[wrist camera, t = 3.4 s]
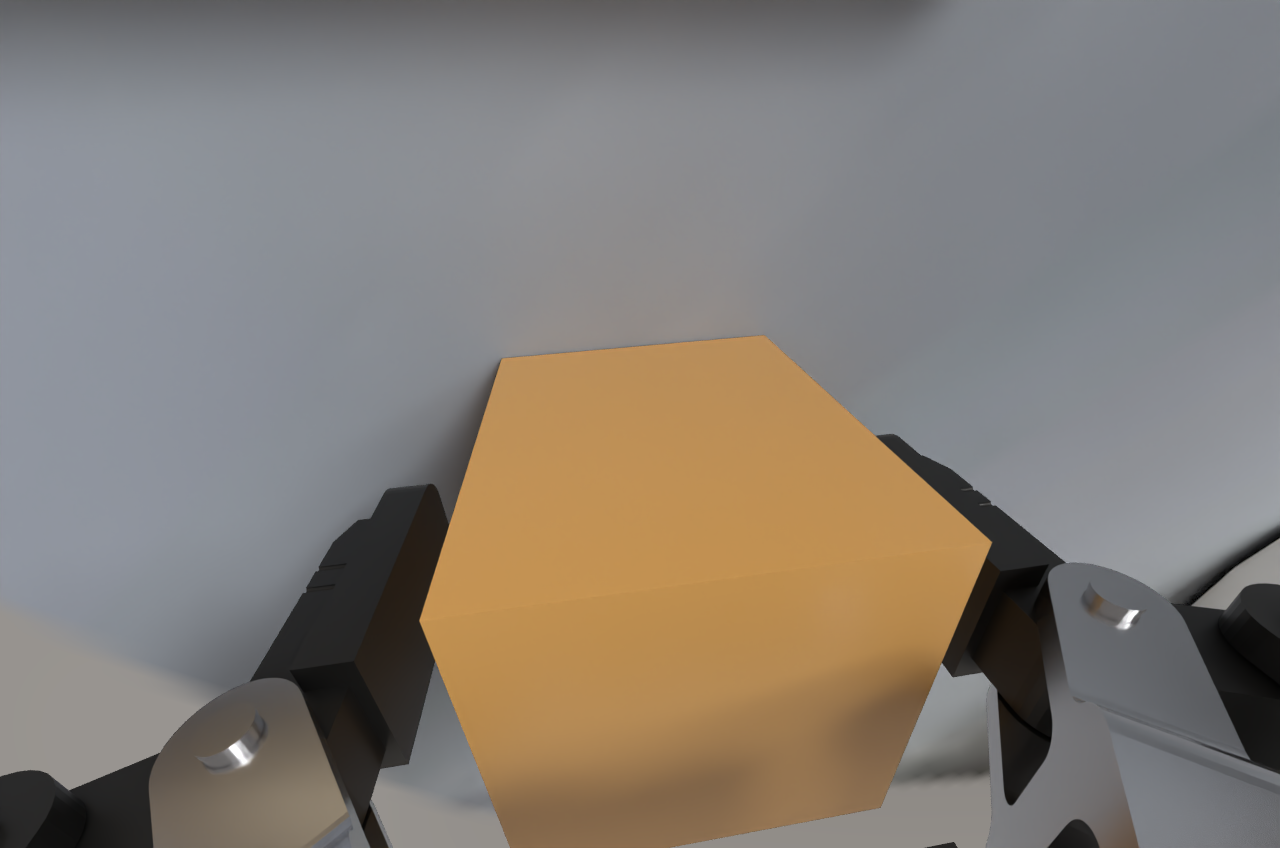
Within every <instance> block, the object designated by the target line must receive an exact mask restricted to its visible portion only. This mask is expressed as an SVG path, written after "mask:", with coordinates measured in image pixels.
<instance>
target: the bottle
mask: <svg viewBox="0 0 1280 848" xmlns="http://www.w3.org/2000/svg"><path fill="white" fill-rule="evenodd" d="M1259 583H1268V584H1278V585H1280V538H1278V539H1277V540H1275V541H1274V542H1272V543H1271V544H1269V545H1268V546H1266V547H1264V548H1263V549H1261V550H1260V551H1258V552H1257V553H1255V554H1254V555H1252V556H1251V557H1249V558H1248V559H1246V560H1244V561H1243V562H1241V563H1240V564H1238V565H1237V566H1235V567H1234V568H1232V569H1231V570H1230V571H1229V572H1228V573H1227V574H1226V575H1225V576H1223V577H1222V578H1221V579H1220V580H1219V581H1218V582H1217V583H1216V584H1214V585H1213V586H1212V587H1211V588H1210V589H1209V590H1208V591H1207V592H1205V593H1204V594H1203V595H1202V596H1201V597H1200V598H1199V599H1198V600H1196V601H1195V602H1194V603H1193V604H1192V605H1191V606H1196V607H1205V608H1213V609H1221V610H1226V609H1227V608H1228V607H1229V605H1230V604H1231V603H1232V602H1233V600H1234V599H1235V598H1236V597H1237V595H1238V594H1239V593H1240V592H1241V591H1242V589H1243V588H1244V587H1246V586H1248V585H1252V584H1259Z"/></svg>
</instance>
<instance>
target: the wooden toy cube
mask: <svg viewBox="0 0 1280 848" xmlns="http://www.w3.org/2000/svg"><path fill="white" fill-rule="evenodd" d="M991 544H992V542H991V541H990V540H989V539H988V538H987V537H986V536H985V535H984V534H982V533H981V532H980V531H979V530H978V529H977V528H976V527H975V526H974V525H973V524H971V523H970V522H969V521H968V520H967V519H966V518H965V517H964V516H963V515H962V514H960V513H959V512H958V511H957V510H956V509H955V508H954V507H953V506H952V505H951V504H950V503H948V502H947V501H946V500H945V499H944V498H943V497H942V496H941V495H940V494H939V493H937V492H936V491H935V490H934V489H933V488H932V487H931V486H930V485H929V484H928V483H926V482H925V481H924V480H923V479H922V478H921V477H920V476H919V475H918V474H917V473H915V472H914V471H913V470H912V469H911V468H910V467H909V466H908V465H907V464H906V463H904V462H903V461H902V460H901V459H900V458H899V457H898V456H897V455H896V454H895V453H893V452H892V451H891V450H890V449H889V448H888V447H887V446H886V445H885V444H884V443H882V442H881V441H880V440H879V439H878V438H877V437H876V436H875V435H874V434H873V433H871V432H870V431H869V430H868V429H867V428H866V427H865V426H864V425H863V424H862V423H860V422H859V421H858V420H857V419H856V418H855V417H854V416H853V415H852V414H851V413H849V412H848V411H847V410H846V409H845V408H844V407H843V406H842V405H841V404H840V403H838V402H837V401H836V400H835V399H834V398H833V397H832V396H831V395H830V394H829V393H827V392H826V391H825V390H824V389H823V388H822V387H821V386H820V385H819V384H818V383H816V382H815V381H814V380H813V379H812V378H811V377H810V376H809V375H808V374H807V373H805V372H804V371H803V370H802V369H801V368H800V367H799V366H798V365H797V364H796V363H794V362H793V361H792V360H791V359H790V358H789V357H788V356H787V355H786V354H785V353H784V352H782V351H781V350H780V349H779V348H778V347H777V346H776V345H775V344H774V343H773V342H771V341H770V340H769V339H768V338H767V337H766V336H765V335H761V336H750V337H739V338H727V339H716V340H705V341H693V342H682V343H671V344H660V345H648V346H637V347H626V348H614V349H603V350H592V351H580V352H569V353H558V354H547V355H535V356H524V357H513V358H502V359H501V362H500V366H499V369H498V372H497V375H496V378H495V381H494V385H493V388H492V391H491V394H490V397H489V401H488V404H487V407H486V410H485V413H484V417H483V420H482V423H481V426H480V429H479V432H478V436H477V439H476V442H475V445H474V448H473V452H472V455H471V458H470V461H469V464H468V467H467V471H466V474H465V477H464V480H463V483H462V487H461V490H460V493H459V496H458V499H457V502H456V506H455V509H454V512H453V515H452V518H451V522H450V525H449V528H448V531H447V534H446V538H445V541H444V544H443V547H442V550H441V553H440V557H439V560H438V563H437V566H436V569H435V573H434V576H433V579H432V582H431V585H430V588H429V592H428V595H427V598H426V601H425V604H424V608H423V611H422V614H421V617H420V620H419V621H420V624H421V626H422V629H423V631H424V634H425V636H426V639H427V641H428V644H429V646H430V649H431V651H432V654H433V656H434V659H435V661H436V664H437V666H438V669H439V671H440V674H441V676H442V679H443V681H444V684H445V686H446V689H447V691H448V694H449V696H450V699H451V701H452V704H453V706H454V709H455V711H456V714H457V716H458V719H459V721H460V724H461V726H462V729H463V731H464V734H465V736H466V739H467V741H468V744H469V746H470V749H471V751H472V754H473V756H474V759H475V761H476V763H477V766H478V768H479V771H480V773H481V776H482V778H483V781H484V783H485V786H486V788H487V791H488V793H489V796H490V798H491V801H492V803H493V806H494V808H495V811H496V813H497V816H498V818H499V821H500V823H501V826H502V828H503V831H504V833H505V836H506V838H507V841H508V843H509V846H510V848H670V847H675V846H680V845H686V844H691V843H696V842H702V841H707V840H712V839H717V838H723V837H728V836H734V835H738V834H744V833H749V832H755V831H760V830H765V829H771V828H776V827H781V826H786V825H791V824H797V823H802V822H807V821H813V820H818V819H824V818H829V817H834V816H839V815H845V814H850V813H855V812H860V811H866V810H871V809H876V808H880V807H881V805H882V803H883V800H884V798H885V796H886V793H887V791H888V789H889V786H890V784H891V782H892V779H893V777H894V774H895V772H896V770H897V767H898V765H899V763H900V760H901V758H902V755H903V753H904V751H905V748H906V746H907V744H908V741H909V739H910V736H911V734H912V732H913V729H914V727H915V725H916V722H917V720H918V717H919V715H920V713H921V710H922V708H923V706H924V703H925V701H926V698H927V696H928V694H929V691H930V689H931V687H932V684H933V682H934V679H935V677H936V675H937V672H938V670H939V668H940V665H941V663H942V661H943V658H944V656H945V653H946V651H947V649H948V646H949V644H950V642H951V639H952V637H953V634H954V632H955V630H956V627H957V625H958V623H959V620H960V618H961V615H962V613H963V611H964V608H965V606H966V604H967V601H968V599H969V596H970V594H971V592H972V589H973V587H974V585H975V582H976V580H977V577H978V575H979V573H980V570H981V568H982V566H983V563H984V561H985V558H986V556H987V554H988V551H989V549H990V547H991Z"/></svg>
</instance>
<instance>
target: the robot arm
mask: <svg viewBox="0 0 1280 848" xmlns="http://www.w3.org/2000/svg"><path fill="white" fill-rule="evenodd" d="M876 437H877V438H878V439H879V440H880V441H881V442H882V443H884V444H885V445H886V446H887V447H888V448H889V449H890V450H891V451H892V452H893V453H895V454H896V455H897V456H898V457H899V458H900V459H901V460H902V461H903V462H904V463H906V464H907V465H908V466H909V467H910V468H911V469H912V470H913V471H914V472H915V473H917V474H918V475H919V476H920V477H921V478H922V479H923V480H924V481H925V482H926V483H928V484H929V485H930V486H931V487H932V488H933V489H934V490H935V491H936V492H937V493H939V494H940V495H941V496H942V497H943V498H944V499H945V500H946V501H947V502H948V503H950V504H951V505H952V506H953V507H954V508H955V509H956V510H957V511H958V512H959V513H960V514H962V515H963V516H964V517H965V518H966V519H967V520H968V521H969V522H970V523H971V524H973V525H974V526H975V527H976V528H977V529H978V530H979V531H980V532H981V533H982V534H984V535H985V536H986V537H987V538H988V539H989V540H990V541H991V542H992V544H991V547H990V549H989V551H988V554H987V556H986V558H985V561H984V563H983V566H982V568H981V570H980V573H979V575H978V577H977V580H976V582H975V585H974V587H973V589H972V592H971V594H970V596H969V599H968V601H967V604H966V606H965V608H964V611H963V613H962V615H961V618H960V620H959V623H958V625H957V627H956V630H955V632H954V634H953V637H952V639H951V642H950V644H949V646H948V649H947V651H946V653H945V656H944V658H943V661H942V663H943V665H944V666H945V667H946V669H947V670H948V672H949V673H950V674H951V676H952V677H957V676H963V675H970V674H976V673H982V672H983V673H984V674H985V676H986V677H987V678H988V679H989V681H990V682H991V683H992V684H991V686H990V688H989V690H988V692H987V698H986V703H987V723H988V744H989V764H990V785H991V804H992V817H991V827H990V833H989V837H988V840H987V844H986V848H1280V585H1278V584H1268V583H1259V584H1252V585H1248V586H1246V587H1244V588H1243V589H1242V591H1241V592H1240V593H1239V594H1238V595H1237V597H1236V598H1235V599H1234V600H1233V602H1232V603H1231V604H1230V605H1229V607H1228V608H1227V609H1226V610H1221V609H1213V608H1205V607H1196V606H1188V605H1180V604H1172V603H1170V602H1169V601H1167V600H1166V599H1165V598H1164V597H1162V596H1161V595H1160V594H1159V593H1157V592H1156V591H1154V590H1153V589H1151V588H1150V587H1148V586H1147V585H1145V584H1143V583H1141V582H1139V581H1137V580H1136V579H1133V578H1131V577H1129V576H1127V575H1125V574H1122V573H1120V572H1117V571H1114V570H1112V569H1108V568H1105V567H1102V566H1097V565H1093V564H1086V563H1065V562H1064V561H1063V560H1062V559H1061V558H1059V557H1058V556H1057V555H1056V554H1054V553H1053V552H1052V551H1051V550H1050V549H1048V548H1047V547H1046V546H1045V545H1043V544H1042V543H1041V542H1040V541H1038V540H1037V539H1036V538H1035V537H1034V536H1032V535H1031V534H1030V533H1029V532H1027V531H1026V530H1025V529H1024V528H1023V527H1021V526H1020V525H1019V524H1018V523H1016V522H1015V521H1014V520H1013V519H1012V518H1010V517H1009V516H1008V515H1007V514H1005V513H1004V512H1003V511H1002V510H1000V509H999V508H998V507H997V506H992V505H991V501H989V500H988V499H987V498H986V497H985V496H983V495H982V494H981V493H980V492H978V491H977V490H976V491H974V490H973V487H972V486H971V485H970V484H969V483H967V482H966V481H965V480H964V479H962V478H961V477H960V476H959V475H958V474H956V473H955V472H954V471H953V470H951V469H950V468H948V467H945V466H943V465H941V464H939V463H937V462H935V461H933V460H931V459H929V458H927V457H925V456H921V455H920V454H919V453H917V452H916V451H915V450H914V449H913V448H911V447H910V446H909V445H908V444H907V443H906V442H904V441H903V440H902V439H901V438H900V437H898V436H897V435H894V434H886V435H877V436H876ZM448 528H449V524H448V521H447V518H446V515H445V511H444V508H443V505H442V502H441V498H440V495H439V492H438V490H437V488H436V487H435V486H434V485H433V484H426V485H417V486H408V487H399V488H390V489H388V490H387V491H386V492H385V493H384V495H383V497H382V498H381V500H380V502H379V504H378V506H377V508H376V510H375V511H374V513H373V515H372V517H371V519H364V520H358V521H357V522H356V523H354V524H353V525H352V526H351V527H350V528H349V529H348V530H347V531H346V532H344V533H343V534H342V535H341V536H340V537H339V538H338V539H337V540H335V541H334V542H333V544H332V546H331V547H330V549H329V551H328V552H327V554H326V556H325V557H324V559H323V561H322V562H321V564H320V566H319V571H318V572H315V574H314V576H313V577H312V579H311V581H310V582H309V584H308V586H307V587H306V588H307V592H306V593H303V594H302V596H301V597H300V599H299V601H298V602H297V604H296V606H295V607H294V609H293V611H292V612H291V614H290V616H289V617H288V619H287V621H286V622H285V624H284V626H283V627H282V629H281V631H280V632H279V634H278V636H277V637H276V639H275V641H274V642H273V644H272V646H271V647H270V649H269V651H268V652H267V654H266V656H265V657H264V659H263V661H262V662H261V664H260V666H259V667H258V669H257V671H256V672H255V674H254V676H253V677H252V679H251V681H250V682H248V683H245V684H243V685H240V686H238V687H236V688H233V689H231V690H229V691H228V692H226V693H224V694H222V695H220V696H219V697H217V698H215V699H214V700H212V701H211V702H209V703H208V704H206V705H205V706H204V707H202V708H201V709H200V710H199V711H197V712H196V713H195V714H194V715H193V716H191V717H190V718H189V719H188V720H187V721H186V722H185V723H184V724H183V725H182V726H181V727H180V728H179V729H178V730H177V731H176V732H175V733H174V734H173V736H172V737H171V738H170V740H169V741H168V742H167V743H166V745H165V746H164V748H163V749H162V751H161V752H160V753H158V754H156V755H154V756H151V757H149V758H146V759H144V760H142V761H139V762H137V763H134V764H132V765H130V766H127V767H125V768H122V769H120V770H118V771H115V772H113V773H110V774H108V775H105V776H103V777H101V778H98V779H96V780H93V781H91V782H89V783H86V784H84V785H82V786H79V787H76V788H74V789H72V790H68V789H66V788H65V787H64V786H63V785H61V784H60V783H59V782H57V781H56V780H55V779H54V778H52V777H51V776H50V775H49V774H47V773H44V772H41V771H33V770H28V771H20V772H15V773H11V774H8V775H4V776H1V777H0V848H393V847H392V844H391V842H390V840H389V838H388V835H387V833H386V831H385V828H384V826H383V824H382V821H381V819H380V817H379V815H378V812H377V810H376V808H375V806H374V804H373V802H372V800H371V797H372V793H373V790H374V786H375V784H376V780H377V777H378V774H379V770H380V769H381V768H387V767H394V766H400V765H406V764H409V760H410V756H411V752H412V749H413V745H414V741H415V737H416V733H417V729H418V725H419V721H420V718H421V714H422V710H423V706H424V702H425V698H426V694H427V690H428V686H429V683H430V679H431V675H432V671H433V667H434V663H435V659H434V656H433V654H432V651H431V649H430V646H429V644H428V641H427V639H426V636H425V634H424V631H423V629H422V626H421V624H420V621H419V620H420V617H421V614H422V611H423V608H424V604H425V601H426V598H427V595H428V592H429V588H430V585H431V582H432V579H433V576H434V573H435V569H436V566H437V563H438V560H439V557H440V553H441V550H442V547H443V544H444V541H445V538H446V534H447V531H448ZM927 848H957V846H956V844H955V843H954V842H952V843H947V844H942V845H937V846H932V847H927Z"/></svg>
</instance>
